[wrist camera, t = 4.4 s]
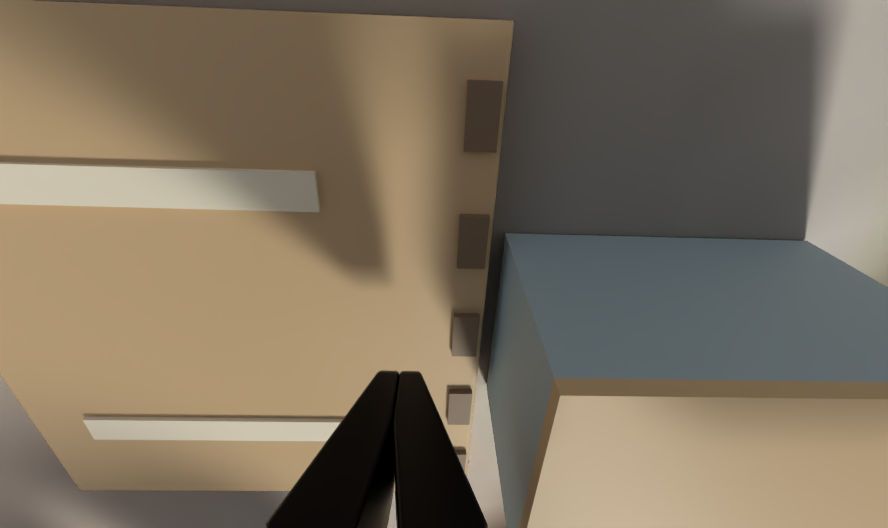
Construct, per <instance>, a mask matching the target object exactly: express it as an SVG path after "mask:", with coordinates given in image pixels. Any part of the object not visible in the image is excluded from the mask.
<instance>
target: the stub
mask: <svg viewBox="0 0 888 528" xmlns="http://www.w3.org/2000/svg"><path fill="white" fill-rule="evenodd" d="M487 392H488V399H489V406H490V413H491V420H492V427H493V434H494V442H495V449H496V456H497V463H498V470H499V477H500V484H501V491H502V498H503V505H504V512H505V519H506V526H507V528H888V287H886V286H884V285H883V284H881V283H879V282H877V281H876V280H874V279H872V278H871V277H869V276H867V275H865V274H864V273H862V272H860V271H858V270H857V269H855V268H853V267H851V266H850V265H848V264H846V263H844V262H843V261H841V260H839V259H838V258H836V257H834V256H832V255H831V254H829V253H827V252H825V251H824V250H822V249H820V248H818V247H817V246H815V245H813V244H811V243H810V242H808V241H797V240H757V239H716V238H676V237H636V236H595V235H555V234H515V233H505V240H504V248H503V256H502V264H501V273H500V281H499V289H498V297H497V305H496V313H495V322H494V330H493V338H492V346H491V354H490V362H489V371H488V379H487Z"/></svg>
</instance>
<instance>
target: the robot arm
mask: <svg viewBox="0 0 888 528" xmlns="http://www.w3.org/2000/svg"><path fill="white" fill-rule="evenodd" d="M394 484H395V499H396V520H397V528H488V525H487V522H486V520H485V518H484V516H483V513H482V511H481V509H480V506H479V504H478V502H477V500H476V497H475V495H474V493H473V490H472V488H471V486H470V484H469V481H468V479H467V477H466V474H465V472H464V470H463V467H462V465H461V463H460V461H459V458H458V456H457V454H456V451H455V449H454V447H453V445H452V442H451V440H450V438H449V435H448V433H447V431H446V429H445V426H444V424H443V422H442V419H441V417H440V415H439V412H438V410H437V408H436V406H435V403H434V401H433V399H432V396H431V394H430V392H429V390H428V387H427V385H426V383H425V380H424V378H423V376H422V374H421V373H420V372H419V371H402V372H400V374H399V372H398V371H385V370H381V371H379V372H377V374H376V375H375V376H374V378H373V379H372V380H371V382H370V383H369V384H368V386H367V387H366V388H365V390H364V391H363V393H362V394H361V395H360V397H359V398H358V399H357V401H356V402H355V403H354V405H353V406H352V407H351V409H350V410H349V412H348V413H347V414H346V416H345V417H344V418H343V420H342V421H341V422H340V424H339V425H338V426H337V428H336V429H335V431H334V432H333V433H332V435H331V436H330V437H329V439H328V440H327V441H326V443H325V444H324V446H323V447H322V448H321V450H320V451H319V452H318V454H317V455H316V456H315V458H314V459H313V460H312V462H311V463H310V465H309V466H308V467H307V469H306V470H305V471H304V473H303V474H302V475H301V477H300V478H299V479H298V481H297V482H296V484H295V485H294V486H293V488H292V489H291V490H290V492H289V493H288V494H287V496H286V497H285V498H284V500H283V501H282V503H281V504H280V505H279V507H278V508H277V509H276V511H275V512H274V513H273V515H272V516H271V518H270V519H269V520H268V522H267V523H266V528H387V525H388V520H389V514H390V509H391V504H392V498H393V492H394Z"/></svg>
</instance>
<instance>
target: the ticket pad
mask: <svg viewBox="0 0 888 528" xmlns="http://www.w3.org/2000/svg"><path fill="white" fill-rule="evenodd" d="M513 27H514V21H511V20H487V19H463V18H440V17H416V16H392V15H368V14H345V13H321V12H297V11H274V10H250V9H226V8H202V7H179V6H155V5H131V4H107V3H84V2H60V1H36V0H0V375H1V377H2V378H3V379H4V381H5V382H6V384H7V385H8V387H9V388H10V390H11V391H12V392H13V394H14V395H15V397H16V398H17V400H18V401H19V403H20V404H21V406H22V407H23V408H24V410H25V411H26V413H27V414H28V416H29V417H30V419H31V420H32V421H33V423H34V424H35V426H36V427H37V429H38V430H39V432H40V433H41V434H42V436H43V437H44V439H45V440H46V442H47V443H48V445H49V446H50V448H51V449H52V450H53V452H54V453H55V455H56V456H57V458H58V459H59V461H60V462H61V463H62V465H63V466H64V468H65V469H66V471H67V472H68V474H69V475H70V476H71V478H72V479H73V481H74V482H75V484H76V485H77V487H78V488H79V490H128V491H290V490H291V489H292V488H293V486H294V485H295V484H296V482H297V481H298V479H299V478H300V477H301V475H302V474H303V473H304V471H305V470H306V469H307V467H308V466H309V465H310V463H311V462H312V460H313V459H314V458H315V456H316V455H317V454H318V452H319V451H320V450H321V448H322V447H323V446H324V444H325V443H326V441H327V440H328V439H329V437H330V436H331V435H332V433H333V432H334V431H335V429H336V428H337V426H338V425H339V424H340V422H341V421H342V420H343V418H344V417H345V416H346V414H347V413H348V412H349V410H350V409H351V407H352V406H353V405H354V403H355V402H356V401H357V399H358V398H359V397H360V395H361V394H362V393H363V391H364V390H365V388H366V387H367V386H368V384H369V383H370V382H371V380H372V379H373V378H374V376H375V375H376V374H377V372H379V371H381V370H385V371H398V372H399V374H400V372H402V371H419V372H420V373H421V374H422V376H423V378H424V380H425V383H426V385H427V387H428V390H429V392H430V394H431V396H432V399H433V401H434V403H435V406H436V408H437V410H438V412H439V415H440V417H441V419H442V422H443V424H444V426H445V429H446V431H447V433H448V435H449V438H450V440H451V442H452V445H453V447H454V449H455V451H456V454H457V456H458V458H459V461H460V463H461V465H462V467H463V470H464V472H465V474H466V477H467V468H468V458H469V449H470V439H471V429H472V420H473V410H474V401H475V391H476V381H477V372H478V362H479V353H480V343H481V334H482V324H483V314H484V305H485V295H486V286H487V276H488V266H489V257H490V247H491V238H492V228H493V219H494V209H495V199H496V190H497V180H498V171H499V161H500V151H501V142H502V132H503V123H504V113H505V103H506V94H507V84H508V75H509V65H510V56H511V46H512V36H513ZM394 491H395V484H394Z"/></svg>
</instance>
